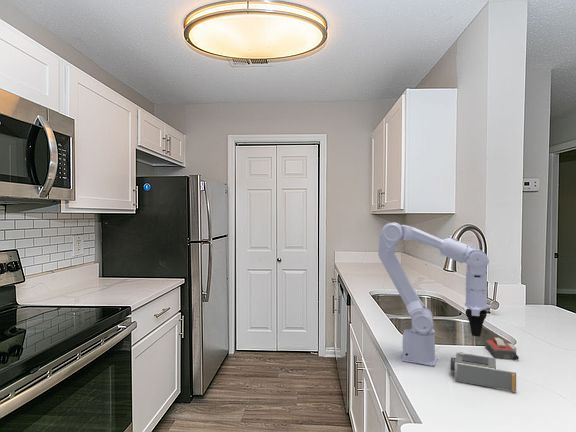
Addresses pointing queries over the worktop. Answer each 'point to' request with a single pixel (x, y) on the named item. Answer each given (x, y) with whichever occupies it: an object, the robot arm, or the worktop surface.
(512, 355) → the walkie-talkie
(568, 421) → the worktop surface
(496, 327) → the worktop surface
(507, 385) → the side door
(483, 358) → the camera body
